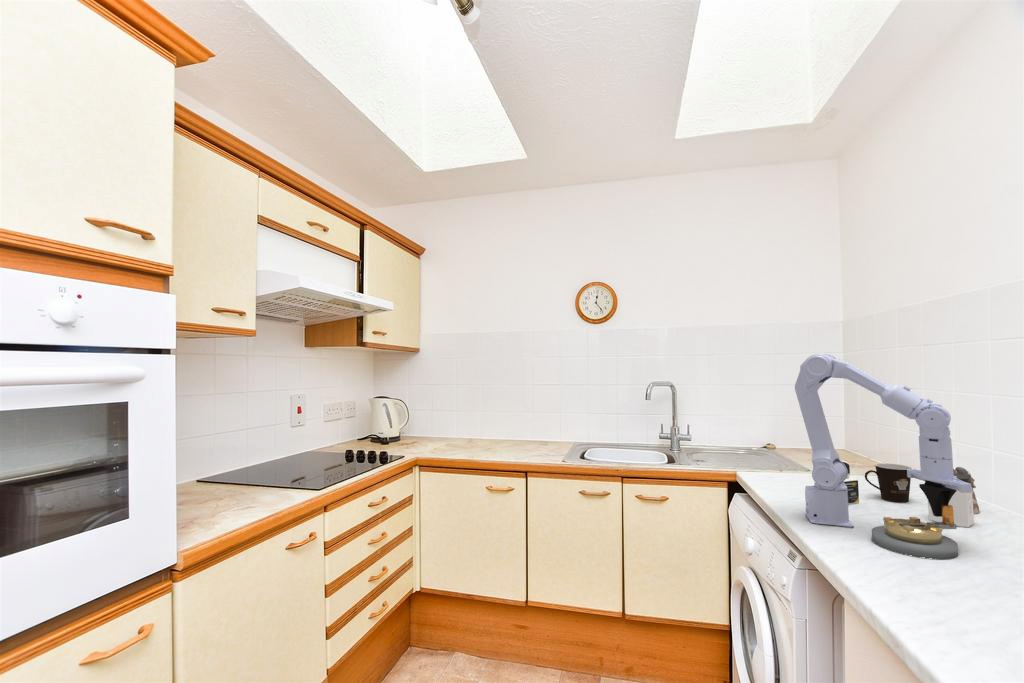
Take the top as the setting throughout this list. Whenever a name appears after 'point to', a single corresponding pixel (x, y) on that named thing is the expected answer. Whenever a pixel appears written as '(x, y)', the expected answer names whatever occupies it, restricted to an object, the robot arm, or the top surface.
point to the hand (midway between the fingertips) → (939, 516)
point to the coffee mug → (892, 482)
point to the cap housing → (915, 546)
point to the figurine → (964, 472)
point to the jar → (959, 506)
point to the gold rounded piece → (920, 528)
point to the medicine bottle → (851, 486)
